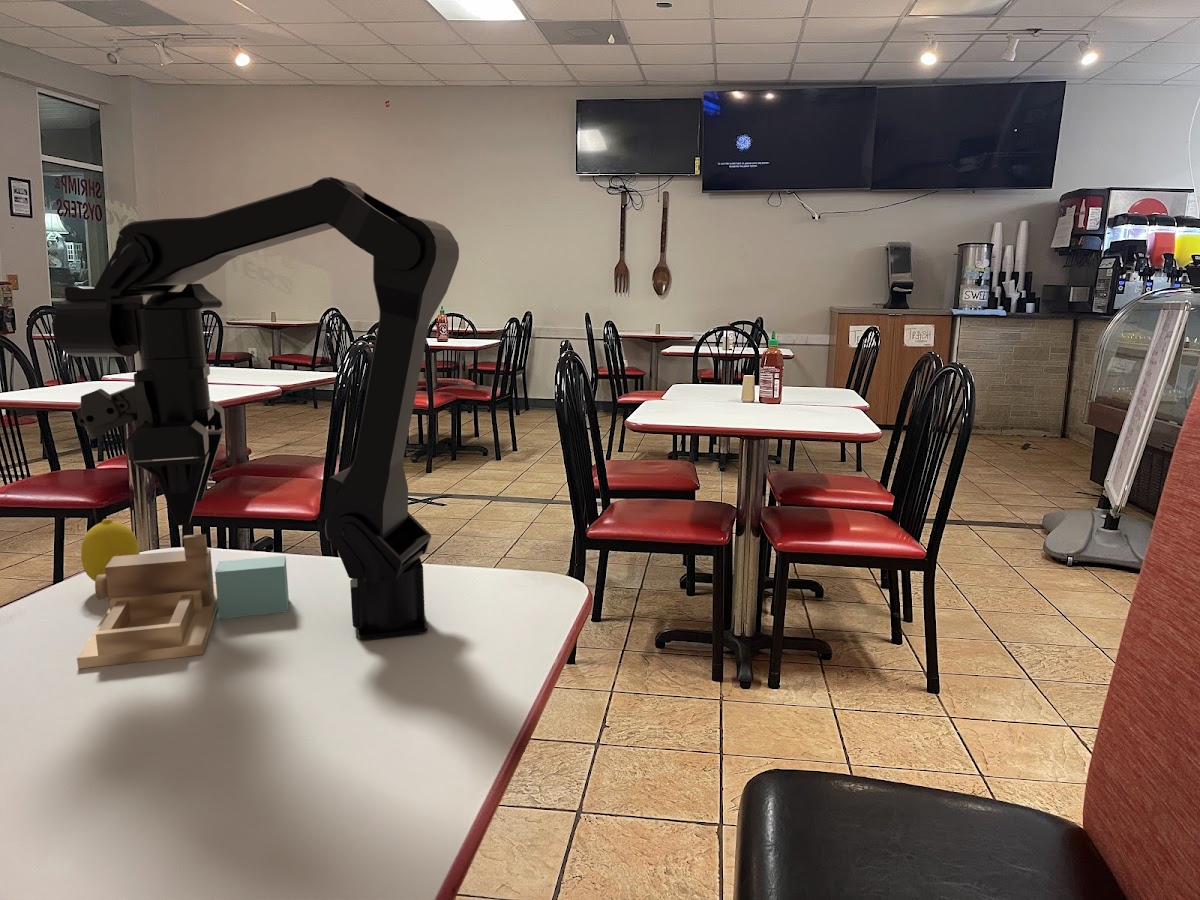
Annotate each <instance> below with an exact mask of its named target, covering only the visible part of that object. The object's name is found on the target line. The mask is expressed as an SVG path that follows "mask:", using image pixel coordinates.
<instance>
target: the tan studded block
mask: <svg viewBox="0 0 1200 900" xmlns="http://www.w3.org/2000/svg"><path fill="white" fill-rule="evenodd" d="M182 539H183V548H184V550H178V551H164V552H153V553H139V554H137V555H125V556H113V558H112V559H111V560H110V562H109V563H108V564H107V566H106V567H105V571H106V574H102V575H97V577H96V581H94V583H95V584H94V589H95V595H96V598H97V600H103V599H108V606H109V607H110V603H109V602H110V600H111V599H112V598H121V597H132V596H143V595H153V594H164V593H175V592H186V591H196V590H201V592H202V603H203V607H205V606H210V605H211V602H212V599H213V596H214V585H213V583H214V575H213V564H212V563H213V562H212V554H211V551H212V550H211V548H208V543H207V533H204V534H203V533H202V534H188V535H187V534H186V535H183V538H182Z"/></svg>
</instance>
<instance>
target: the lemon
mask: <svg viewBox="0 0 1200 900" xmlns="http://www.w3.org/2000/svg"><path fill="white" fill-rule="evenodd" d="M80 547H81V549H80V550H81V551H80V558H81V565H82V569H83V571H84V572H85V573H86V575H87V577H89V578H90V579H91V580H92V581H93V582H95V581H96V577H97V575H102V574H106V571H105V567H106V566H107V564H108V563H109V562H110V560H111V559H112V558H113V556H125V555H137V554H140V546H139V543H138V540H137V538H136V536H135V533H134V532H133V531H132V530H131V528H130V527H128V526H127V525H126V524H124V523H121V522H120V521H115V520H112V519H111V518H104V519H102V521H101V522H99V523H97V524H95V525H94V526H93V527H91V528H90V529H89V530H87V532H86V533H85V535H84V537H83V539H82V543H81V546H80Z"/></svg>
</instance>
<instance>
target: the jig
mask: <svg viewBox="0 0 1200 900" xmlns="http://www.w3.org/2000/svg"><path fill="white" fill-rule="evenodd" d="M213 585H214V596H213V599H212V602H211V605H210V606H205V607H203V603H202V592H201V590H196V591H186V592H175V593H164V594H153V595H143V596H132V597H121V598H112V599H111V600H110V602H109V601H108V604H109V603H110V606H109V608H108V609H107V611H106V612H105V614H104V616H103V617H102V619H101V620H100V622H99V624H98V625H97V626H96V628H95V630H94V631H93V633H92V634H91V636H90V637H89V638H88V640H87V642H86V644H85V645H84V646H83V648H82V650H81V651H80V653H79V654H78V656H77V657H76V662H77V670H78V669H86V668H87V669H88V668H96V667H104V666H113V665H122V664H124V665H125V664H133V663H138V662H139V663H140V662H149V661H150V662H151V661H157V660H165V659H166V660H167V659H175V658H184V657H192V656H193V657H194V656H200V655H203V654H204V651H205V648H206V644H207V643H208V642H207V641H208V638H209V636H210V633H211V631H212V626H213V623H214V620H215V617H216V614H217V611H218V601H217V589H216V581H215V582H214V581H213Z"/></svg>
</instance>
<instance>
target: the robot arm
mask: <svg viewBox="0 0 1200 900" xmlns="http://www.w3.org/2000/svg"><path fill="white" fill-rule="evenodd" d="M332 229H336V231H338V232H339V233H340V234H341V235H342V236H343V237H345V238H346V239H347V240H348V241H350V242H351V243H352V244H354V245H355V246H357V247H358V248H360V249H361V250H362V251H365V252H366V253H368V254H370V255H371V256H372V259H373V260H372V262H373V263H372V271H373V272H372V274H373V275H372V281H373V286H374V291H375V296H376V300H377V304H378V310H379V319H378V325H377V330H376V336H375V341H374V346H373V353H372V358H371V363H370V368H369V376H368V379H367V386H366V387H367V388H366V393H365V398H364V403H363V408H362V412H361V413H362V414H361V420H360V425H359V432H358V437H357V441H356V448H355V453H354V458H353V460H352V463H351V465H350V467H348V468H346V469H344V470H342V471H340V472H338V473H335V474H334V475H332V476H330V477H328V479H327V482H326V487H325V505H324V508H323V510H322V512H321V514H320V515H319V519H320V520H325V523H324V534H325V537H326V540H327V542H330V544H331V545H332V547H333V549H334V550H336V551H337V553H338V555H339V558H340V559H341V562H342V564H343V567H344V570H345V571H346V575H347V577H348V578H349V579H350V580H349V581H350V582H349V583H350V585H349V586H350V600H351V604H350V605H351V618H352V626H353V627H354V628H357V632H358V639H360V640H370V639H379V638H387V637H398V636H404V635H412V634H422V633H427V632H428V630H429V626H428V621H427V618H426V614H425V613H426V612H425V611H426V610H425V589H424V588H425V587H424V586H425V581H424V579H425V578H424V566H423V562H422V560H421V557H422V555H425V554H426V553H427V550H428V547H429V545H430V543H431V542H430V541H431V539H432V534H431V533H430V532H429V531H428V530H427V529H426V528H425V527H424V526H423V525H422V524H421V523H419V522H418V520H417V519H416V518H415V517H414V516H413V515H412V514H411V513H410V512H409V486H408V481H407V477H406V471H405V469H404V458H405V453H406V449H407V448H406V447H407V441H408V436H409V432H410V427H411V421H412V416H413V412H414V406H415V400H416V395H417V390H418V384H419V380H420V374H421V370H422V365H423V359H424V355H425V348H426V343H427V337H428V332H429V327H430V324H431V320H432V319H433V317H434V316H435V313H436V312H437V310H438V309H439V306H440V304H441V303H442V301H443V299H444V298H445V296H446V294H447V292H448V289H449V287H450V284H451V281H452V280H453V276H454V274H455V270H456V268H457V265H458V263H459V259H460V249H459V248H460V247H459V242H458V241H457V240H456V239H455V236H454V234H453V233H452V232H451V231H450V230H449V229H448V228H447V227H446V226H445V225H444V224H442V223H439V222H437V221H435V220H434V221H433V220H429V219H424V218H420V217H419V218H418V217H415V216H414V217H413V216H410V215H408V214H406V213H404V212H402V211H400V210H399V209H397V208H395V207H394V206H391V205H389V204H387V203H386V202H384V201H382V200H381V199H378V198H376V197H374V196H372V195H371V194H370V193H368V192H366V191H365V190H363V189H362V187H360V186H359V185H358V184H356V183H354V182H351V181H348V180H343V179H340V178H336V177H332V176H329V177H327V176H326V177H322V178H320V179H318V180H316V181H315V182H313V183H311V184H308V185H306V186H302V187H298V188H295V189H292V190H289V191H285V192H281V193H279V194H275V195H272V196H268V197H265V198H262V199H258V200H256V201H253V202H252V201H251V202H249V203H246V204H245V203H244V204H242V205H238V206H236V207H233V208H232V207H231V208H229V209H225V210H222V211H218V212H216V213H213V214H209V215H206V216H198V217H180V218H177V217H176V218H160V219H158V218H157V219H149V220H148V219H147V220H138V221H136V220H135V221H132V222H128V223H127V224H126V225H124V226H123V227H121V228H120V230H119V231H118V237H117V240H116V242H115V243H116V244H115V249H114V251H113V253H112V254H111V257H110V258H109V260H108V263H106V266H105V268H104V269H103V271H102V274H101V275H100V277H99V279H98V281H97V283H96V284H95V286H94V287H93V286H65V287H64V296H65V299H64V300H63V301H62V302H60V304H59V305H58V306H57V308H56V311H55V312H54V318H53V321H52V322H51V329H52V333H53V338H54V339H55V342H56V344H57V345H58V347H59V348H60V350H62V351H63V353H65V354H67V355H69V356H71V357H110V358H111V357H114V358H115V357H116V358H117V357H118V358H119V357H125V358H126V357H132V356H134V355H136V354H137V353H138V355H139V362H140V364H139V365H140V369H138V370H136V372H135V373H134V374H133V383H134V385H131V386H129V387H125V388H123V389H120V390H118V391H115V392H112V393H108V392H107V391H105V390H104V389H102V388H98V389H96V390H94V391H91V392H89V393H85V394H83V395H81V396H80V406H79V407H76V408H75V409H74V411H75V413H76V415H77V419H76V423H77V425H78V426H79V427H84V428H85V430H86V432H87V434H88V435H89V438H90V439H91V440H95V439H97V438H100V437H102V436H104V435H106V433H107V432H110V431H111V430H114V429H117V428H120V427H122V426H125V425H128V424H130V423H131V422H132V423H133V422H135V421H137V426H138V427H137V428H136V429H135V430H134V431H132V433H131V434H130V435H129V436H128V437H127V438H126V449H127V455H128V457H127V458H128V461H132V462H133V464H134V465H135V466H136V467H138V468H142V469H143V470H145V471H147V472H149V473H150V474H152V475H153V476H155V477H156V480H157V482H158V484H159V486H160V488H161V491H162V494H163V495H164V498H165V501H166V502H167V504H168V507H169V510H170V513H171V514H172V516H173V520H174V522H175V524H176V525H177V526H188V525H190V523H191V519H192V516H193V512H194V509H195V506H196V503H199V502H202V500H203V498H204V495H205V492H206V489H207V485H208V482H209V480H210V476H211V472H212V469H213V466H214V463H215V460H216V457H217V453H218V451H219V447H220V444H221V441H222V437H223V435H224V430H223V429H224V427H225V426H226V422H225V410H224V409H225V408H223V406H221V405H220V404H218V403H217V402H216V401H215V400H211V397H210V388H209V380H208V379H209V378H208V377H209V376H210V375H211V369H210V364H209V363H207V358H206V350H205V349H206V348H205V339H204V328H203V320H202V310H206V309H219V308H221V307H222V306H223V302H222V300H220V299H219V298H217V296H215V295H214V294H212V293H211V292H210V291H209V290H208V289H206V287H205V285H204V284H203V283H196V282H198V281H200V280H202V279H204V278H206V277H207V276H210V275H212V274H213V273H216V272H217V271H218V270H219V269H221V268H222V267H223V266H224V265H226V263H228V262H229V261H231V260H233V259H235V258H237V257H239V256H244V255H246V254H249V253H253V252H256V251H260V250H262V249H267V248H270V247H274V246H277V245H280V244H284V243H287V242H291V241H294V240H297V239H300V238H305V237H307V236H312V235H315V234H319V233H322V232H325V231H329V230H332ZM184 285H185V287H184V288H183V289H182V290H181V291H174V290H175V289H176V288H177V287H178V286H184ZM145 296H150V297H149V298H148V299H147V301H146V302H145V303H144V299H143V298H144V297H145ZM213 426H214V427H215V428H216V429H214V430H209V427H213Z"/></svg>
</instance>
